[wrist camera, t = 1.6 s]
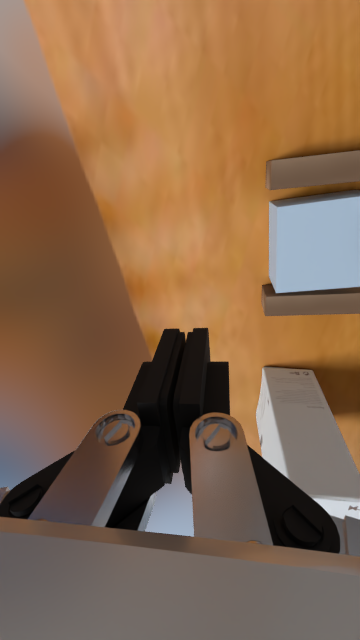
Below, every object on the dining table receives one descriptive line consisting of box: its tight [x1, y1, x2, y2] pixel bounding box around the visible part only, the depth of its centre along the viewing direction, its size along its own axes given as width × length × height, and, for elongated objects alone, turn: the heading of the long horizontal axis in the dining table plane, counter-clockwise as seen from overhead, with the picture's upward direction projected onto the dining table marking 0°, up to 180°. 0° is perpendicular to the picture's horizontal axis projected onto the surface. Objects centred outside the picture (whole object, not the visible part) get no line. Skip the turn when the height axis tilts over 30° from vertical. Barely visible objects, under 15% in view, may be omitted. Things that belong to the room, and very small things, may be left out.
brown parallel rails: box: [262, 150, 360, 316], centre depth 24 cm, size 13×11×3 cm
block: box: [269, 190, 360, 293], centre depth 24 cm, size 7×7×4 cm
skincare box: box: [256, 367, 360, 519], centre depth 28 cm, size 8×6×15 cm
